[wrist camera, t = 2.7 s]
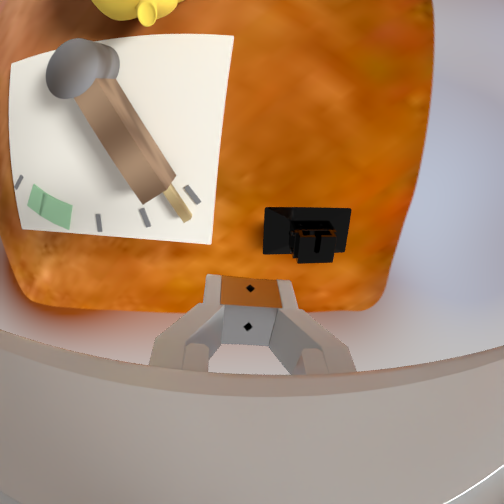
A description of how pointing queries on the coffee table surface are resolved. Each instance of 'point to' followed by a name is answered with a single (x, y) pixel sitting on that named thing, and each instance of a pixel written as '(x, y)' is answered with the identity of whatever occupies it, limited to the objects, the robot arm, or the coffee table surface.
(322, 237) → the black flanged block
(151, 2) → the teapot
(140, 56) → the dial plate
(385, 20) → the coffee table surface
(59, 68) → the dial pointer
